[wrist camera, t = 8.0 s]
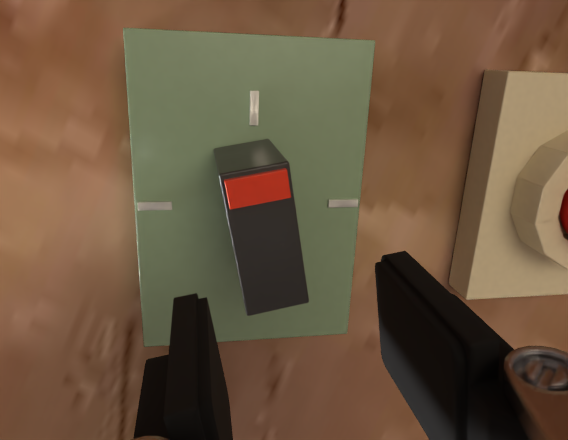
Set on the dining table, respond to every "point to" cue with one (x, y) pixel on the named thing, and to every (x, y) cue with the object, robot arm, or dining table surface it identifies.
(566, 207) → the power button
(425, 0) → the dining table surface
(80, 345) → the dining table surface
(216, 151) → the red-striped black box
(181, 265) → the panel
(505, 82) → the switch box
